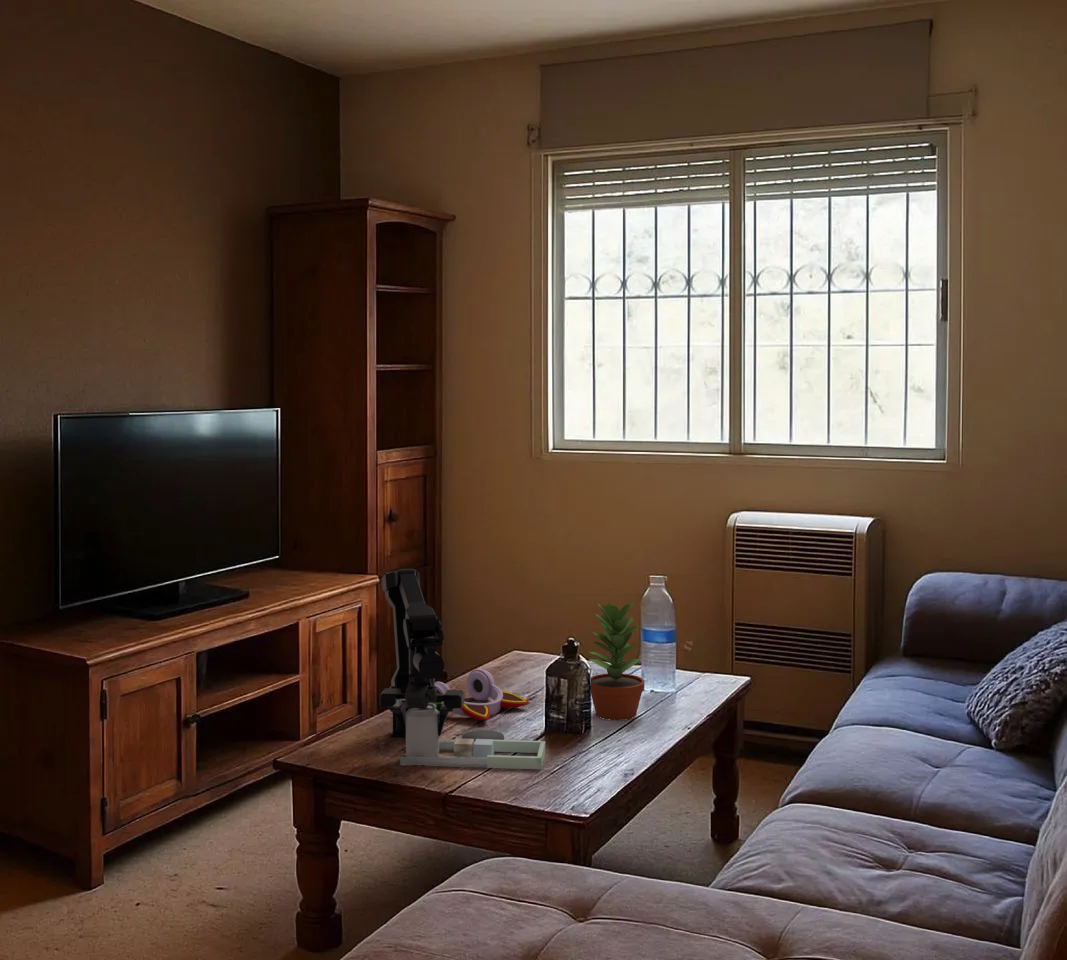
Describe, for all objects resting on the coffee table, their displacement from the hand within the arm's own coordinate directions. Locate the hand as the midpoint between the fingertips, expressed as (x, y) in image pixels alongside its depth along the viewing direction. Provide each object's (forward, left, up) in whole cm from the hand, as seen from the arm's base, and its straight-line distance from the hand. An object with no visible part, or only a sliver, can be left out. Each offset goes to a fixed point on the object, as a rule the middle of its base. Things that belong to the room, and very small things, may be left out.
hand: (422, 735), depth 268 cm
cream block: (+10, 0, -5) cm, 11 cm away
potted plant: (+43, +37, -5) cm, 57 cm away
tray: (+21, 0, -5) cm, 22 cm away
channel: (+6, 0, -5) cm, 8 cm away
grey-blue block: (+14, 0, -5) cm, 15 cm away
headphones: (+8, +37, -6) cm, 38 cm away
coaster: (+12, +14, -5) cm, 19 cm away
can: (0, 0, -5) cm, 5 cm away
